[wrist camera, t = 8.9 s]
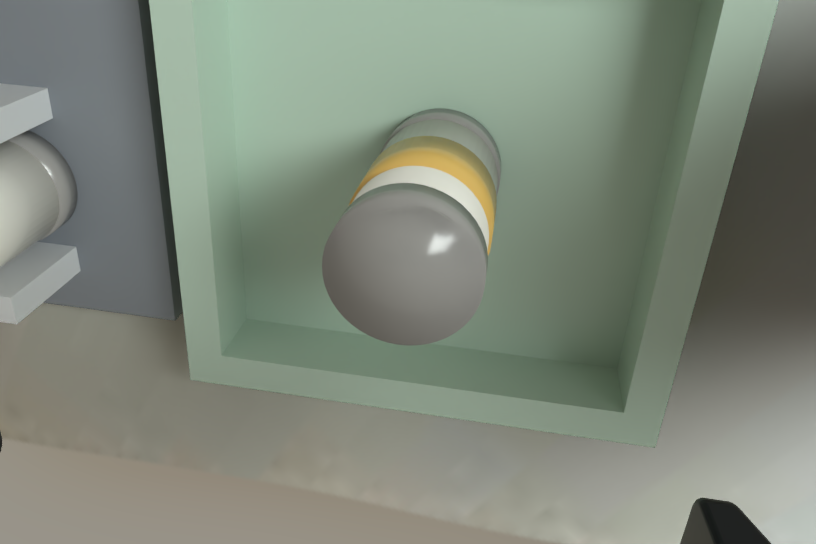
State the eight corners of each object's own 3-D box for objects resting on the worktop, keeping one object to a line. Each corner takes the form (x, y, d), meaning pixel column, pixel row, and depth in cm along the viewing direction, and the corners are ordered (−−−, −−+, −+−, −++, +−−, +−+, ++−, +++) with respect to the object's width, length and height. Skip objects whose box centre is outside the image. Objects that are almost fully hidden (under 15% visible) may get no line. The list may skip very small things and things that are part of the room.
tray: (768, -101, 16) (805, -98, 13) (643, 389, 22) (655, 447, 20) (187, -136, 17) (133, -138, 15) (224, 331, 23) (190, 380, 21)
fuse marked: (508, 114, 18) (494, 209, 13) (494, 229, 20) (477, 355, 14) (384, 102, 18) (320, 189, 13) (379, 215, 20) (321, 334, 15)
